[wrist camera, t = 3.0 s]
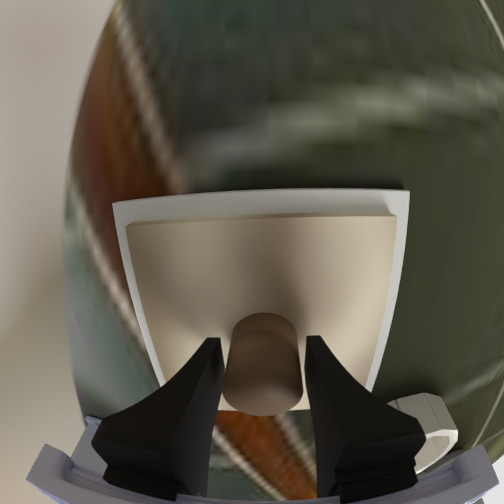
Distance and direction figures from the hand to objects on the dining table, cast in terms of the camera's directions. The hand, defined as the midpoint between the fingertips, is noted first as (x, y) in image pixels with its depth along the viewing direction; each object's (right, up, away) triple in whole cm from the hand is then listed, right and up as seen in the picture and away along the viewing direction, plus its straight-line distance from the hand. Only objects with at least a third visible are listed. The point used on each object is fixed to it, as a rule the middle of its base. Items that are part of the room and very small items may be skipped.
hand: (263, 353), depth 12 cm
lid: (0, +1, +2) cm, 2 cm away
